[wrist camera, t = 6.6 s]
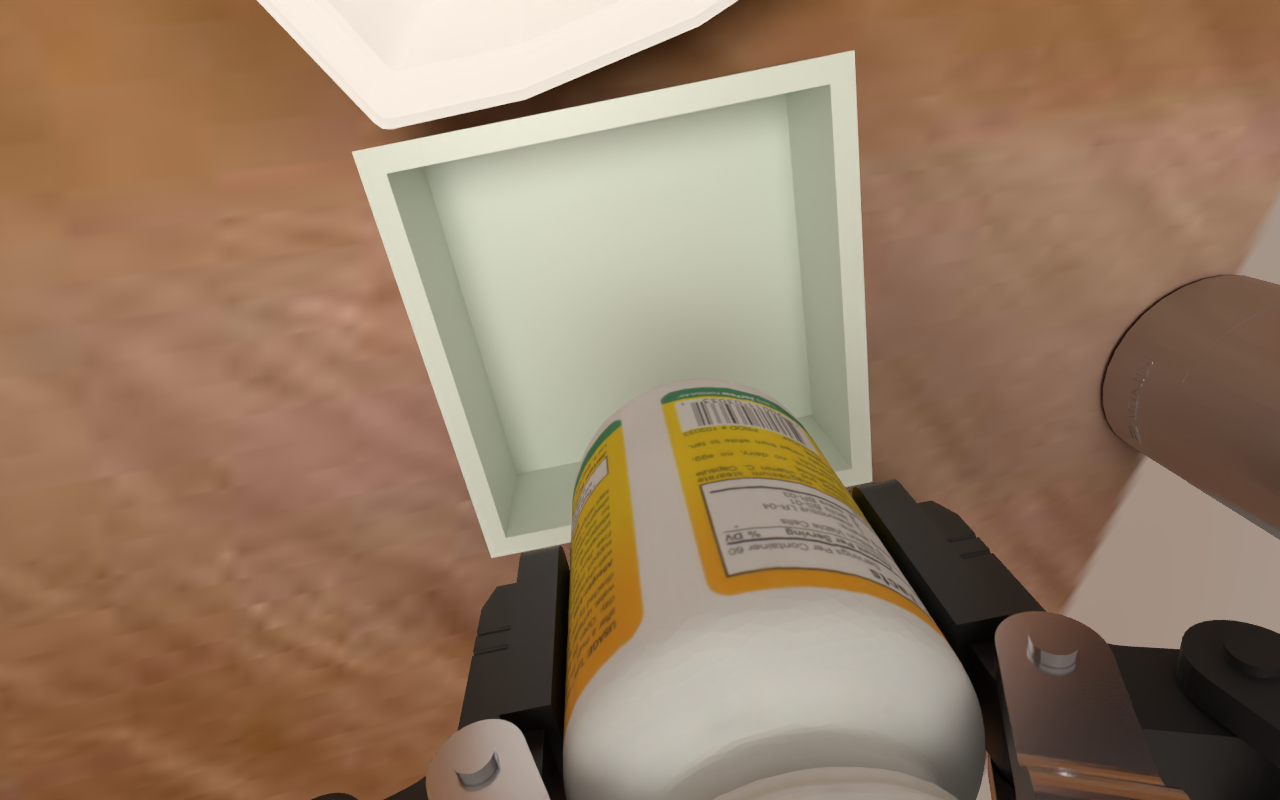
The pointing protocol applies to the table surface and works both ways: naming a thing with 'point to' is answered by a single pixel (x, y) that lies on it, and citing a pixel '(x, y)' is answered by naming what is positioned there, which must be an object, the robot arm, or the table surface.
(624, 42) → the bowl
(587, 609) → the supplement bottle
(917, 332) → the table surface
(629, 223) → the plastic bin
